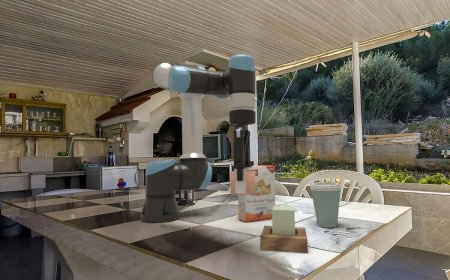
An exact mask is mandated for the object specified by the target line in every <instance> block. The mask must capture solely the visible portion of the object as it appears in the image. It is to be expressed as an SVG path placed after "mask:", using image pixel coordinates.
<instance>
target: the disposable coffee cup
mask: <svg viewBox="0 0 450 280" xmlns="http://www.w3.org/2000/svg"><path fill="white" fill-rule="evenodd" d="M309 188H310V189H309V190H310V192H311V197H312V198H311V199H312V202H313V208H314V211H315V212H314V214H315V217H316V223H317V224H318V227H321V228H335V227H337V225H338V223H339V211H340V210H339V209H340V200H341V190H342V188H341V186H340V184H339V182H335V181H319V182H318V181H317V182H313V183H311V185H310V187H309Z"/></svg>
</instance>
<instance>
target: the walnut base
mask: <svg viewBox="0 0 450 280" xmlns="http://www.w3.org/2000/svg"><path fill="white" fill-rule="evenodd" d="M260 233H261V234H260V238H259V240H260V242H259V244H260V246H259V247H260V248H259V249H260V251H269V252H270V251H271V252H273V251H274V252H287V253H302V254H308V250H309V249H308V235H307V230H306V227H305V226H304V227H301V226H295V236H286V235H272V225H263V228H262V231H261V232H260Z"/></svg>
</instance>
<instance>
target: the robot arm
mask: <svg viewBox="0 0 450 280" xmlns="http://www.w3.org/2000/svg"><path fill="white" fill-rule="evenodd" d="M227 66H228V67H227V68H228V69H227V70H226V71H220V70H219V71H217V70H212V69H210V70H209V69H206V68H205V67H204V66H200V65H197V64H194V65H193V64H187V63H180V62H179V63H178V62H169V61H167V62H166V61H165V62H161V63H158V64H157V65H155V67H154V68H153V69H152V70H151V71H152V73H151V78H152V82H154V84H155V85H156V86H157V87H159V88H160V89H164V90H169V91H171V92H174V93H177V96H178V98H179V99H181V122H182V123H181V126H182V127H181V133H182V134H181V135H182V143H181V144H182V155H180V156H179V158H178V162H177V161H176V159H175V158H171V159H162V160H156V161H150V162H148V163H147V164H146V165H145V174H144V176H145V201H144V204H143V207H142V210H141V212H140V220H141V221H142V222H144V223H145V222H146V223H166V222H167V223H168V222H173V221H176V220H179V219H180V216H181V215H180V213H181V212H180V209H179V206H178V203H177V200H176V192H179V191H181V192H182V191H198V190H205V189H207V188H208V187H209V186H210V183H211V180H212V176H213V167H212V164H211V162H209V161H208V160H207V156H206V155H205V154H204V152H203V151H204V149H203V147H204V146H203V116H202V115H203V112H202V110H203V107H202V99H204V97H205V95H206V96H214V97H215V98H217V99H221V100H222V99H228V109H229V110H230V111H229V112H228V116H229V117H228V123H229V124H230V126H231V125H232V126H236V128H234V129H233V131H232V132H233V164H232V167H231V169H233V170H234V171H235V193H236V194H235V195H237V194H246V171H250V168H248V167H252V166H253V164H252V161H251V130H249V127H248V126H249V125H255V124H256V121H257V120H256V119H257V118H256V117H257V116H256V114H257V113H256V110H255V109H256V102H258V98H257V97H256V64H255V59H254V56H251V55H248V54H241V53H240V54H235V55H232V56H231V57H229V59H228V65H227Z"/></svg>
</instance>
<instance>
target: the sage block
mask: <svg viewBox="0 0 450 280" xmlns="http://www.w3.org/2000/svg"><path fill="white" fill-rule="evenodd" d="M295 210H296V209H295V206H282V205H275V206H273V209H272V219H271V226H272V235H286V236H295V227H296V222H295V221H296V220H295V219H296V218H295V216H296V215H295Z"/></svg>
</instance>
